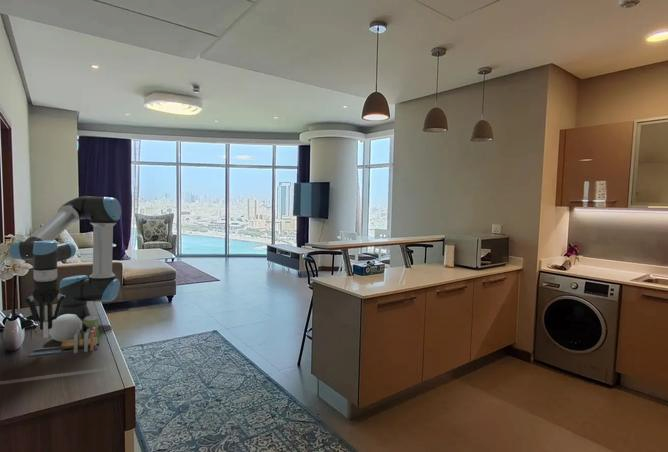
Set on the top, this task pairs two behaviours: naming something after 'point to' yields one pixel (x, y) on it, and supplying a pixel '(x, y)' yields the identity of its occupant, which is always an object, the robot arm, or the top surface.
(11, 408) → the top surface
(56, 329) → the decorative ball
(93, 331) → the aperture bridge
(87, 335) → the collar
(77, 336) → the collar
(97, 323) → the beverage can
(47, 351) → the grey open frame rack
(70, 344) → the copper tube
